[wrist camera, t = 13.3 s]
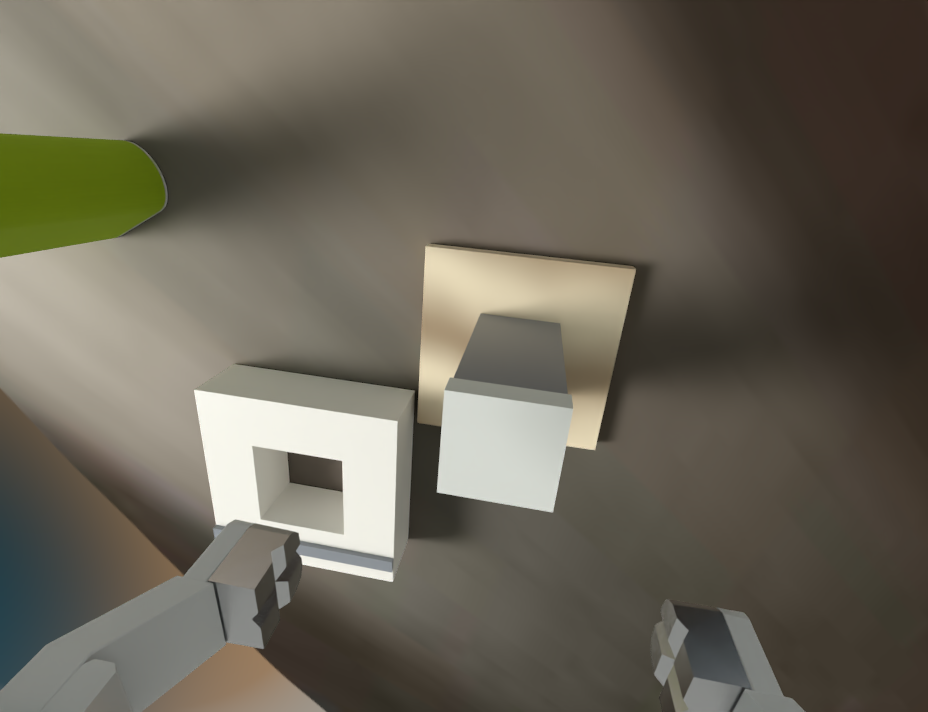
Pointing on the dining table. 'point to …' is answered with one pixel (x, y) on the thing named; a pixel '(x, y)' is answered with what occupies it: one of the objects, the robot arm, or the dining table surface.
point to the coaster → (528, 297)
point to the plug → (507, 415)
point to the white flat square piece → (316, 434)
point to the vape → (73, 191)
